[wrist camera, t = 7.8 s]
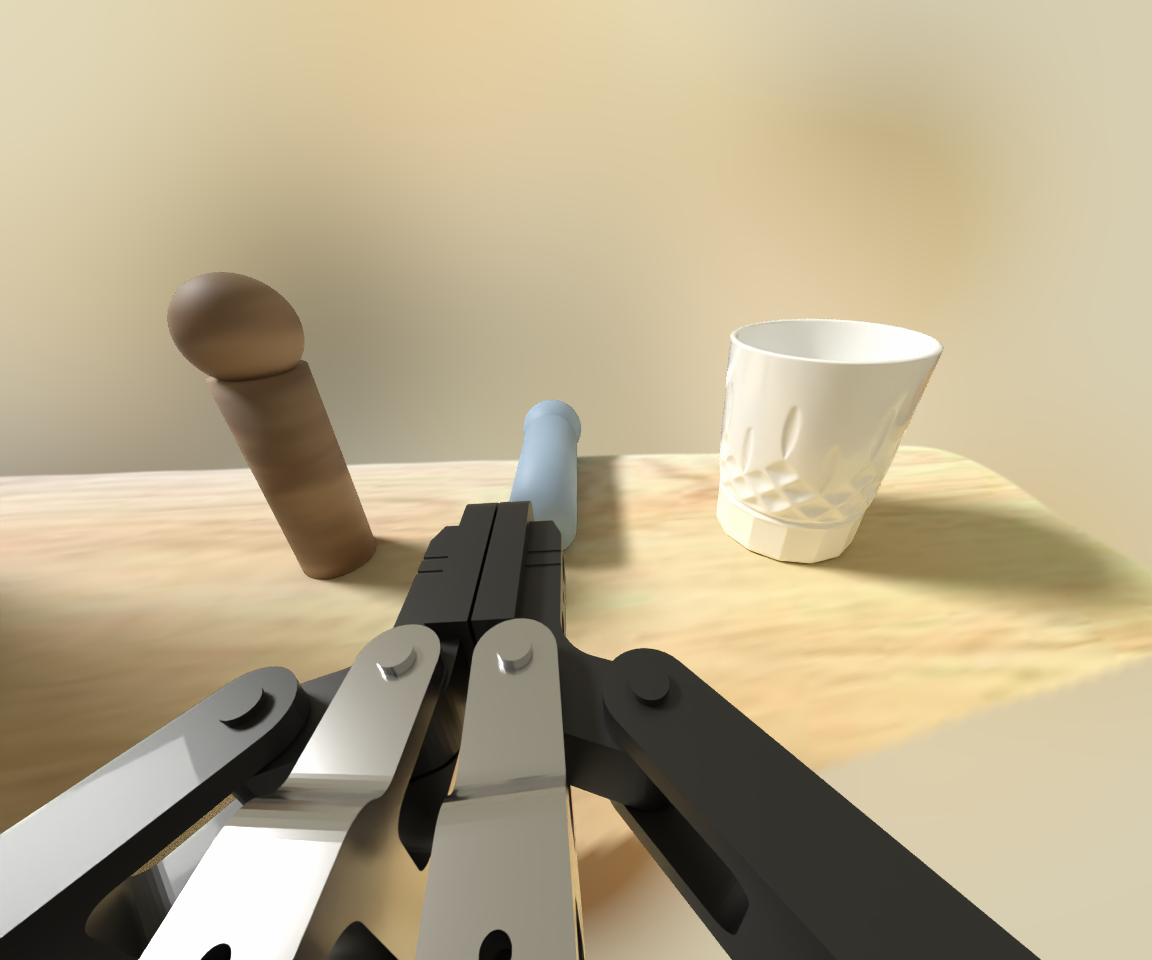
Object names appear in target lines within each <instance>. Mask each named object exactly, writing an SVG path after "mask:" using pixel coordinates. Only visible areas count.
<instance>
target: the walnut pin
mask: <svg viewBox="0 0 1152 960" xmlns="http://www.w3.org/2000/svg"><path fill="white" fill-rule="evenodd" d="M167 319H168V327H169V331H170V334H171V337H172V339H173V341H174V343H175V345H176V346H177V348H178V349H179V351H180V352H181V353H182V354H183V356H184V357H185V358H186V359H187V360H188V361H189V362H190V363H192V364H193V365H194V366H195V367H197V368H198V369H199V370H201V371H203V372H204V373H206V374H207V375H209V376H210V377H209V378H207V379H206V384H207V386H208V387H209V389H210V391H211V393H212V395H213V397H214V399H215V401H216V403H217V405H218V407H219V409H220V411H221V413H222V414H223V416H224V418H225V420H226V422H227V424H228V426H229V428H230V430H231V432H232V434H233V436H234V438H235V440H236V441H237V444H238V445H239V447H240V449H241V451H242V453H243V455H244V457H245V459H246V461H247V463H248V465H249V467H250V469H251V471H252V473H253V475H254V476H255V478H256V480H257V482H258V484H259V486H260V488H261V490H262V492H263V494H264V496H265V498H266V500H267V502H268V504H269V506H270V507H271V509H272V511H273V513H274V515H275V517H276V519H277V521H278V523H279V525H280V527H281V529H282V531H283V533H284V535H285V536H286V538H287V540H288V542H289V544H290V546H291V548H292V550H293V552H294V554H295V556H296V558H297V560H298V562H299V564H300V566H301V567H302V569H303V571H304V573H305V574H306V575H307V576H309V577H311V578H315V579H329V578H334V577H338V576H341V575H344V574H347V573H349V572H351V571H353V570H355V569H357V568H359V567H360V566H362V565H363V564H364V563H365V562H367V561H368V560H369V559H370V558H371V556H372V555H373V553H374V552H375V549H376V542H375V540H374V537H373V534H372V532H371V529H370V526H369V524H368V521H367V518H366V516H365V513H364V511H363V508H362V505H361V503H360V500H359V497H358V495H357V492H356V489H355V487H354V484H353V482H352V479H351V476H350V474H349V471H348V468H347V466H346V463H345V460H344V458H343V455H342V452H341V450H340V447H339V445H338V442H337V439H336V437H335V434H334V431H333V429H332V426H331V424H330V421H329V418H328V415H327V413H326V410H325V408H324V405H323V402H322V400H321V397H320V394H319V392H318V389H317V386H316V384H315V381H314V379H313V376H312V373H311V371H310V368H309V366H308V363H307V362H306V361H303V360H300V359H301V356H302V353H303V350H304V332H303V328H302V324H301V322H300V320H299V317H298V316H297V314H296V312H295V311H294V309H293V308H292V306H291V305H290V304H289V303H288V302H287V301H286V300H285V299H284V297H282V296H281V295H280V294H279V293H278V292H277V291H275V290H274V289H272V288H271V287H270V286H268V285H266V284H264V283H262V282H260V281H258V280H256V279H253V278H251V277H248V276H245V275H240V274H235V273H226V272H218V273H216V272H215V273H208V274H204V275H200V276H197V277H195V278H193V279H191V280H189V281H187V282H186V283H184V284H183V285H182V286H181V287H180V288H179V289H178V290H177V291H176V292H175V294H174V295H173V297H172V299H171V301H170V303H169V307H168V315H167Z"/></svg>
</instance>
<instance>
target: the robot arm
mask: <svg viewBox="0 0 1152 960" xmlns="http://www.w3.org/2000/svg"><path fill="white" fill-rule="evenodd" d="M565 598H566V581H565V569H564V558H563V547H562V536H561V532H560V531H559V529H558V528H557V526H556V525H555V523H554V522H553V520H549V521H534V516H533V508H532V503H531V501H516V502H500V504H499V503H483V504H468V505H467V506H466V508H465V511H464V513H463V516H462V519H461V522H460V525H459V526H446V527H445V528H444V529H443V530H442V531H441V532H440V533H439V534H438V535H437V536H436V537H435V538H433V539H432V540H431V542H430V544H429V547H428V549H427V551H426V554H425V556H424V561H422V563H421V565H420V567H419V570H418V575H416V577H415V579H414V581H413V584H412V586H411V588H410V591H409V593H408V595H407V597H406V600H405V602H404V604H403V607H402V609H401V611H400V614H399V616H398V618H397V621H396V623H395V625H394V628H392V629H390V630H388V631H385V632H384V633H382V634H380V635H379V636H377V637H376V638H374V639H373V640H372V641H371V642H369V643H368V644H367V645H366V646H365V647H364V648H363V650H362V651H361V652H360V654H359V655H358V657H357V658H356V660H355V662H354V663H353V665H352V666H351V667H349V668H346V669H344V670H341V671H338V672H335V673H332V674H329V675H326V676H323V677H320V678H317V679H314V680H310V681H307V682H304V683H301V684H300V683H299V681H298V680H297V678H296V677H295V675H294V674H293V673H292V672H291V671H290V670H288V669H286V668H282V667H266V668H261V669H258V670H254V671H252V672H249V673H247V674H245V675H243V676H240V677H238V678H237V679H235V680H233V681H232V682H230V683H228V684H227V685H225V686H224V687H222V688H221V689H219V690H218V691H216V692H215V693H213V694H212V695H210V696H209V697H207V698H206V699H204V700H203V701H201V702H200V703H198V704H197V705H195V706H194V707H192V708H191V709H189V710H187V711H186V712H184V713H183V714H181V715H180V716H178V717H177V718H175V719H174V720H172V721H171V722H169V723H168V724H166V725H165V726H163V727H162V728H160V729H159V730H157V731H156V732H154V733H153V734H151V735H150V736H148V737H147V738H145V739H144V740H142V741H141V742H139V743H138V744H136V745H135V746H133V747H132V748H130V749H128V750H127V751H125V752H124V753H122V754H121V755H119V756H118V757H116V758H115V759H113V760H112V761H110V762H109V763H107V764H106V765H104V766H103V767H101V768H100V769H98V770H97V771H95V772H94V773H92V774H91V775H89V776H88V777H86V778H85V779H83V780H82V781H80V782H79V783H77V784H76V785H74V786H72V787H71V788H69V789H68V790H66V791H65V792H63V793H62V794H60V795H59V796H57V797H56V798H54V799H53V800H51V801H50V802H48V803H47V804H45V805H44V806H42V807H41V808H39V809H38V810H36V811H35V812H33V813H32V814H30V815H29V816H27V817H26V818H24V819H23V820H21V821H20V822H18V823H17V824H15V825H13V826H12V827H10V828H9V829H7V830H6V831H4V832H3V833H1V834H0V960H586V957H585V946H584V932H583V921H582V909H581V896H580V885H579V875H578V865H577V852H576V839H575V826H574V814H573V801H572V788H571V785H572V786H574V787H577V788H580V789H583V790H585V791H588V792H591V793H594V794H597V795H599V796H602V797H605V798H608V799H610V801H611V803H612V805H613V806H614V808H615V809H616V810H617V812H618V813H619V814H620V816H621V817H622V818H623V820H624V821H625V822H626V823H627V825H628V826H629V827H630V829H631V830H632V831H633V832H634V834H635V835H636V836H637V838H638V839H639V840H640V842H641V843H642V844H643V845H644V847H645V848H646V849H647V851H648V852H649V853H650V854H651V856H652V857H653V858H654V859H655V861H656V862H657V863H658V865H659V866H660V867H661V869H662V870H663V871H664V872H665V874H666V875H667V876H668V877H669V879H670V880H671V881H672V883H673V884H674V885H675V887H676V888H677V889H678V891H679V892H680V893H681V895H682V896H683V897H684V898H685V900H686V901H687V902H688V904H689V905H690V906H691V907H692V909H693V910H694V911H695V913H696V914H697V915H698V916H699V918H700V919H701V920H702V922H703V923H704V924H705V926H706V927H707V928H708V929H709V931H710V932H711V933H712V935H713V936H714V937H715V939H716V940H717V941H718V942H719V944H720V945H721V946H722V948H723V949H724V950H725V951H726V953H727V954H728V955H729V956H730V958H731V959H732V960H1040V959H1039V958H1038V957H1037V956H1036V955H1035V954H1033V953H1032V952H1031V951H1030V950H1029V949H1027V948H1026V947H1025V946H1024V945H1022V944H1021V943H1020V942H1019V941H1018V940H1016V939H1015V938H1014V937H1013V936H1011V935H1010V934H1009V933H1008V932H1007V931H1005V930H1004V929H1003V928H1002V927H1001V926H999V925H998V924H997V923H996V922H995V921H993V920H992V919H991V918H990V917H988V916H987V915H986V914H985V913H984V912H982V911H981V910H980V909H979V908H978V907H976V906H975V905H974V904H973V903H972V902H970V901H969V900H968V899H967V898H966V897H964V896H963V895H962V894H961V893H960V892H958V891H957V890H956V889H955V888H953V887H952V886H951V885H950V884H949V883H947V882H946V881H945V880H944V879H942V878H941V877H940V876H939V875H938V874H936V873H935V872H934V871H933V870H932V869H930V868H929V867H928V866H927V865H926V864H924V863H923V862H922V861H921V860H920V859H918V858H917V857H916V856H915V855H913V854H912V853H911V852H910V851H909V850H907V849H906V848H905V847H904V846H903V845H901V844H900V843H899V842H898V841H897V840H895V839H894V838H893V837H891V836H890V835H889V834H888V833H887V832H886V831H884V830H883V829H882V828H881V827H880V826H878V825H877V824H876V823H875V822H873V821H872V820H871V819H870V818H869V817H867V816H866V815H865V814H864V813H862V812H861V811H860V810H859V809H858V808H856V807H855V806H854V805H853V804H852V803H850V802H849V801H848V800H847V799H846V798H844V797H843V796H842V795H841V794H840V793H838V792H837V791H836V790H835V789H834V788H832V787H831V786H830V785H828V784H827V783H826V782H825V781H824V780H823V779H821V778H820V777H819V776H818V775H817V774H815V773H814V772H813V771H812V770H810V769H809V768H808V767H807V766H806V765H804V764H803V763H802V762H801V761H800V760H798V759H797V758H796V757H795V756H794V755H792V754H791V753H790V752H789V751H787V750H786V749H785V748H784V747H783V746H781V745H780V744H779V743H778V742H777V741H775V740H774V739H773V738H772V737H771V736H769V735H768V734H767V733H766V732H764V731H763V730H762V729H761V728H760V727H758V726H757V725H756V724H755V723H754V722H752V721H751V720H750V719H749V718H747V717H746V716H745V715H744V714H743V713H741V712H740V711H739V710H738V709H737V708H735V707H734V706H733V705H732V704H731V703H729V702H728V701H727V700H726V699H724V698H723V697H722V696H721V695H720V694H718V693H717V692H716V691H715V690H714V689H712V688H711V687H710V686H709V685H708V684H706V683H705V682H704V681H703V680H701V679H700V678H699V677H698V676H697V675H695V674H694V673H693V672H692V671H691V670H689V669H688V668H687V667H686V666H684V665H683V664H682V663H681V662H680V661H678V660H677V659H676V658H674V657H673V656H671V655H669V654H667V653H665V652H662V651H659V650H655V649H648V648H640V649H634V650H630V651H627V652H625V653H623V654H621V655H619V656H618V657H616V658H615V659H614V660H613V661H610V660H607V659H603V658H599V657H595V656H592V655H589V654H586V653H584V652H582V651H580V650H579V649H577V648H576V647H574V646H573V645H572V644H571V643H570V642H569V641H568V639H567V638H566V614H565V613H566V600H565ZM230 794H232V795H233V796H234V797H235V798H236V799H235V800H234V801H233V802H231V803H230V804H229V805H228V806H227V807H225V808H224V809H223V810H222V811H221V812H219V813H218V814H217V815H216V816H215V817H213V818H212V819H211V820H210V821H209V822H207V823H206V824H205V825H204V826H203V827H201V828H200V829H199V830H198V831H197V832H195V833H194V834H193V835H192V836H191V837H189V838H188V839H187V840H186V841H184V842H183V843H182V844H181V845H180V846H178V847H177V848H176V849H175V850H174V851H172V852H171V853H170V854H169V855H168V856H166V857H165V858H164V859H163V860H162V861H160V862H159V863H158V864H156V865H155V866H153V867H152V868H150V869H148V870H147V871H145V872H143V873H141V874H138V875H135V876H132V877H130V876H131V875H132V874H133V873H135V872H136V871H137V870H138V869H139V868H141V867H142V866H143V865H144V864H146V863H147V862H148V861H149V860H150V859H152V858H153V857H154V856H155V855H157V854H158V853H159V852H160V851H161V850H163V849H164V848H165V847H166V846H168V845H169V844H170V843H171V842H172V841H174V840H175V839H176V838H177V837H179V836H180V835H181V834H182V833H184V832H185V831H186V830H187V829H188V828H190V827H191V826H192V825H193V824H195V823H196V822H197V821H198V820H199V819H201V818H202V817H203V816H204V815H206V814H207V813H208V812H209V811H210V810H212V809H213V808H214V807H215V806H217V805H218V804H219V803H220V802H221V801H223V800H224V799H225V798H226V797H228V796H229V795H230Z"/></svg>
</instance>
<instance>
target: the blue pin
mask: <svg viewBox="0 0 1152 960" xmlns="http://www.w3.org/2000/svg"><path fill="white" fill-rule="evenodd" d="M523 429H524V430H523V432H524V436H525V439H524V443H523V447H522V451H521V455H520V459H519V463H518V468H517V472H516V476H515V480H514V484H513V489H512V493H511V497H510V501H509V502H516V501H531V503H532V508H533V516H534V521H549V520H553V522H554V523H555V525H556V526H557V528H558V529H559V531H560V532H561V536H562V547H563V550H565V549H566V548H567V547H568V546H570V545H571V543H572V542H573V540H574V539H575V536H576V533H577V443H578V441H579V438H580V434H581V424H580V420H579V417H578V415H577V414H576V412H575V411H574V409H573V408H572V407H570V406H569V405H568V404H566V403H564V402H562V401H558V400H546V401H543V402H540V403H538V404H536V405H535V406H534V407H533V408H532V409H531V410H530V411H529V412H528V414H527V416H526V418H525V421H524V427H523Z"/></svg>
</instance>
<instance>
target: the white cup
mask: <svg viewBox="0 0 1152 960" xmlns="http://www.w3.org/2000/svg"><path fill="white" fill-rule="evenodd" d="M942 352H943V345H942V343H941V342H940V341H938V340H937V339H935V338H933V337H931V336H929V335H926V334H923V333H920V332H917V331H913V330H910V329H905V328H900V327H896V326H890V325H884V324H876V323H869V322H860V321H849V320H833V319H789V320H774V321H765V322H759V323H753V324H749V325H746V326H742V327H740V328H738V329H736V330H734V331H733V332H732V333H731V336H730V347H729V358H728V369H727V380H726V390H725V401H724V412H723V421H722V431H721V447H720V464H719V470H720V476H721V478H720V487H719V496H718V505H717V518H718V520H719V522H720V524H721V525H722V527H723V529H724V531H725V533H726V534H727V535H729V536H730V537H731V538H733V539H734V540H735V541H737V542H738V543H740V544H741V545H742V546H744V547H745V548H747V549H748V550H751V551H753V552H756V553H759V554H762V555H764V556H767V557H770V558H773V559H776V560H779V561H790V562H801V563H815V562H819V561H823V560H827V559H831V558H835V557H838V556H840V554H841V553H842V552H843V551H844V550H845V549H846V548H847V547H848V546H849V545H850V543H851V542H852V540H853V538H854V536H855V534H856V532H857V529H858V527H859V525H860V522H861V520H862V518H863V516H864V513H865V511H866V509H867V508H868V507H869V506H870V504H871V503H872V501H873V499H874V497H875V495H876V493H877V491H878V489H879V487H880V485H881V482H882V480H883V478H884V476H885V475H886V473H887V471H888V469H889V467H890V465H891V463H892V461H893V459H894V457H895V454H896V452H897V450H898V448H899V446H900V443H901V441H902V439H903V437H904V434H905V432H906V430H907V428H908V426H909V423H910V421H911V419H912V416H913V415H914V412H915V410H916V407H917V406H918V403H919V401H920V399H921V397H922V395H923V393H924V390H925V388H926V386H927V384H928V382H929V379H930V377H931V375H932V373H933V371H934V369H935V367H936V364H937V362H938V360H939V358H940V356H941V353H942Z"/></svg>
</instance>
